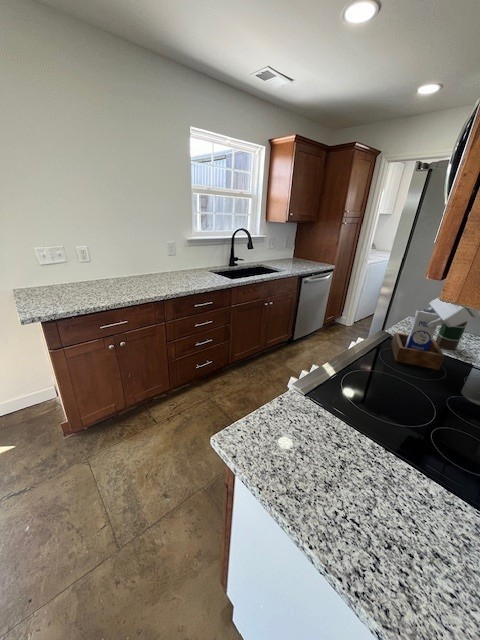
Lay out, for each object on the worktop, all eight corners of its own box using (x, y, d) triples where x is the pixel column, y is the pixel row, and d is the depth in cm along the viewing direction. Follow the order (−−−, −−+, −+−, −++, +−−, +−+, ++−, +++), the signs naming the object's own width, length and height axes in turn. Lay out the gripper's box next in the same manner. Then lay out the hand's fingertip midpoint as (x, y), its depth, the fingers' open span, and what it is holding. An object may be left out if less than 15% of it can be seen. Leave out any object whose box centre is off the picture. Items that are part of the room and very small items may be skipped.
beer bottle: (457, 352, 110) (480, 297, 101) (435, 346, 114) (455, 293, 104) (455, 344, 116) (477, 292, 107) (434, 340, 120) (453, 289, 110)
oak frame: (429, 351, 110) (434, 338, 108) (439, 369, 98) (444, 356, 95) (391, 344, 115) (394, 332, 112) (395, 361, 102) (399, 347, 100)
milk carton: (402, 357, 105) (418, 310, 97) (403, 350, 110) (417, 305, 102) (423, 362, 102) (441, 315, 94) (423, 355, 107) (439, 309, 99)
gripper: (450, 286, 101) (414, 305, 108) (471, 302, 84) (426, 324, 91) (460, 298, 102) (423, 317, 109) (483, 317, 84) (437, 338, 91)
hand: (424, 321), depth 99 cm, fingers open, 8 cm apart
